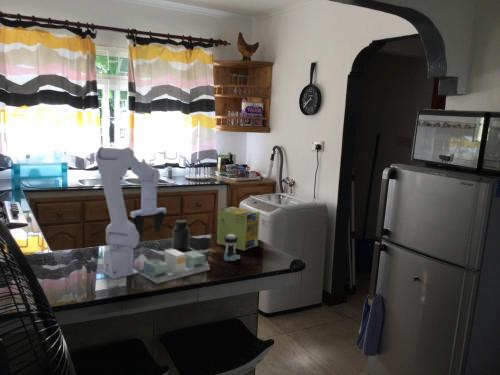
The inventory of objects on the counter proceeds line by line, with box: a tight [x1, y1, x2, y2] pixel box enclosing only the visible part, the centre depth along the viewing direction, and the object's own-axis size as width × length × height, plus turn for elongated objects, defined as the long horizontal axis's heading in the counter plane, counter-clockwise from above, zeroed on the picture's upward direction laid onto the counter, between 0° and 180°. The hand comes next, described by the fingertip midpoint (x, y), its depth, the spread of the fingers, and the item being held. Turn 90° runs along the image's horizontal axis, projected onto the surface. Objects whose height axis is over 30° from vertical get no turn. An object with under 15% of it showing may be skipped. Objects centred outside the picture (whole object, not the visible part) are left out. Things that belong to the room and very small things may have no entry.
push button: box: [223, 234, 241, 262], centre depth 163 cm, size 7×5×10 cm
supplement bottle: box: [171, 219, 190, 252], centre depth 174 cm, size 7×7×12 cm
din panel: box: [139, 250, 211, 284], centre depth 147 cm, size 22×11×5 cm, turn 134°
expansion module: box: [164, 248, 186, 273], centre depth 147 cm, size 4×7×6 cm, turn 44°
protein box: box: [216, 206, 260, 251], centre depth 184 cm, size 10×15×16 cm
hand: (148, 233), depth 161 cm, fingers open, 7 cm apart
